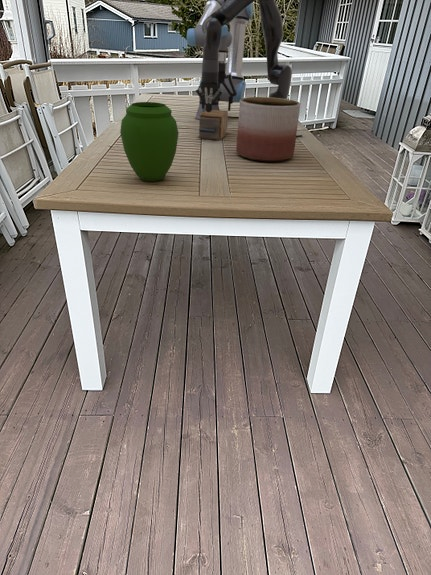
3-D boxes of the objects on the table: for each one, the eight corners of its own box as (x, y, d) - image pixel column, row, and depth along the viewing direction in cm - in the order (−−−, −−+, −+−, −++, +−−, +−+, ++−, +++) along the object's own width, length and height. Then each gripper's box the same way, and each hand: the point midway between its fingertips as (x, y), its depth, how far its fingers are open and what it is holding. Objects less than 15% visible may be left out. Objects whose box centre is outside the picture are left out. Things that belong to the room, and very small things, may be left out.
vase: (131, 189, 135) (125, 110, 122) (118, 172, 150) (112, 100, 137) (186, 184, 142) (187, 109, 129) (169, 168, 157) (167, 99, 144)
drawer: (216, 141, 197) (217, 121, 192) (196, 139, 198) (197, 119, 193) (224, 132, 214) (225, 113, 209) (206, 130, 216) (206, 112, 211)
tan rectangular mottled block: (220, 140, 203) (221, 116, 198) (199, 138, 205) (199, 114, 199) (226, 133, 217) (227, 110, 212) (206, 131, 219) (207, 109, 213)
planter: (301, 163, 172) (310, 106, 161) (242, 163, 168) (247, 105, 157) (283, 148, 194) (289, 97, 182) (230, 148, 189) (234, 96, 178)
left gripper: (191, 60, 197) (190, 108, 208) (242, 64, 193) (239, 112, 204) (195, 60, 203) (194, 106, 214) (244, 63, 199) (241, 110, 210)
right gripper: (193, 70, 182) (193, 112, 191) (222, 72, 180) (220, 114, 189) (197, 69, 188) (197, 109, 198) (226, 71, 186) (223, 112, 196)
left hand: (216, 109), depth 209 cm, fingers open, 13 cm apart
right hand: (208, 112), depth 193 cm, fingers closed
